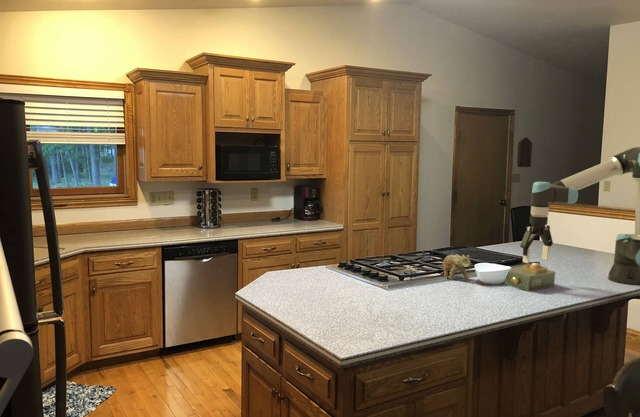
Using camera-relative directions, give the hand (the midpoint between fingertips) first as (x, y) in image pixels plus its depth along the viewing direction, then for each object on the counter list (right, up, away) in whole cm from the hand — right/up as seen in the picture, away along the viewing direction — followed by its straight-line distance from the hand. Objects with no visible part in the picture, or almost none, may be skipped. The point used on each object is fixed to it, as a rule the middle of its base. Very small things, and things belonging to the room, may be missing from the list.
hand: (535, 261), depth 246 cm
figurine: (-35, -10, +9) cm, 37 cm away
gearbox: (-4, -11, -1) cm, 12 cm away
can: (0, -10, +2) cm, 10 cm away
